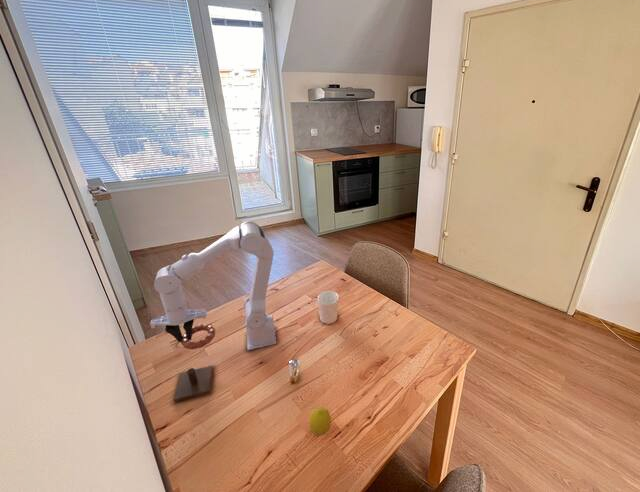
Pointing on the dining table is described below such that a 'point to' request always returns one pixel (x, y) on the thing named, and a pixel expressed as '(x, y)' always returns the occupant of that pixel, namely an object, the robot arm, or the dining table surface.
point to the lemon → (320, 421)
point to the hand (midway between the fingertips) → (185, 338)
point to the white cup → (328, 306)
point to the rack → (193, 383)
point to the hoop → (203, 342)
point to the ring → (295, 364)
